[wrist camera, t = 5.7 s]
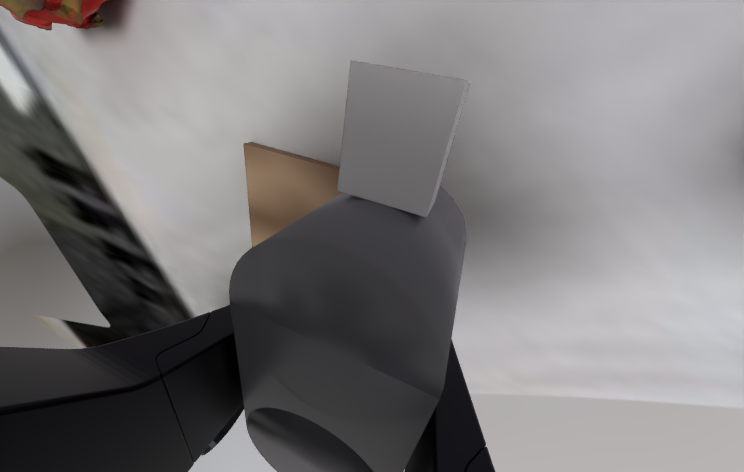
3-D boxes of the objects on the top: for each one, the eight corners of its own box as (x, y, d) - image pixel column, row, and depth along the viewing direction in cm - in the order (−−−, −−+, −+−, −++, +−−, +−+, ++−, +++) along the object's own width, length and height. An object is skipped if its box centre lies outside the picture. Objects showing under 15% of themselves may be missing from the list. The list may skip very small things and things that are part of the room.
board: (380, 327, 25) (377, 333, 25) (260, 275, 29) (255, 280, 28) (415, 187, 18) (412, 191, 18) (251, 142, 22) (243, 143, 21)
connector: (411, 386, 12) (371, 534, 8) (325, 346, 13) (251, 459, 9) (524, 97, 6) (596, 87, 2) (357, 68, 7) (192, 23, 3)
